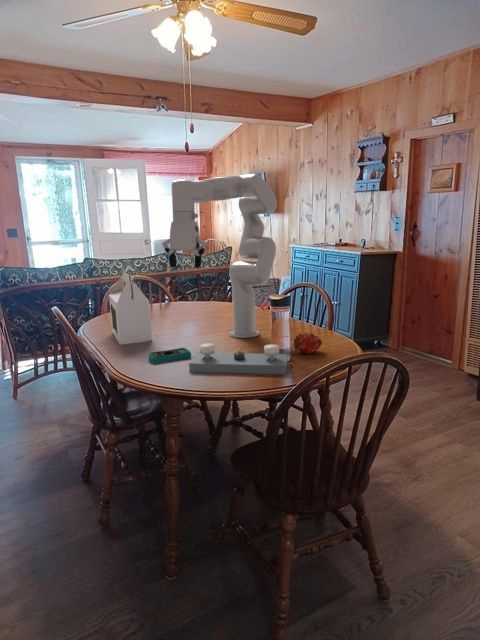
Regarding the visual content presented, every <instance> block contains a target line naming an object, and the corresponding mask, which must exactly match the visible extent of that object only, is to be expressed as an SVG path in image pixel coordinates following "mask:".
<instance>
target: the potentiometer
mask: <svg viewBox="0 0 480 640" xmlns="http://www.w3.org/2000/svg"><path fill="white" fill-rule="evenodd" d="M233 353H234V359H235V360H244V359H245V352H243V351H242V349H241V348H237V352H233Z"/></svg>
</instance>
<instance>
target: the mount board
mask: <svg viewBox="0 0 480 640" xmlns="http://www.w3.org/2000/svg"><path fill="white" fill-rule="evenodd" d="M234 353H235V352H215V353H213V354H210V356H211V359H205V355H204V354H201V353H200V352H196V354H195V355H194V356H193V358H192V359H191V360H190V362H189V363H188V367H189V371H188V372H189V373H215V374H217V373H222V374H223V373H224V374H254V375H257V374H258V375H263V374H264V375H286V374H287V369H288V359H289V358H288V354H287V353H279V355H276V356H275V361H269V356H267V355H265V354H264V353H245V352H244V353H245V359H244V360H235V359H234Z"/></svg>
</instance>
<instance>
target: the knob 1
mask: <svg viewBox="0 0 480 640" xmlns="http://www.w3.org/2000/svg"><path fill="white" fill-rule="evenodd" d="M215 349H216V348H215V344H214V343H202V344H200V345H199V353H201V354H204V355H205V359H211V356H210V354H213V353H216V351H215Z"/></svg>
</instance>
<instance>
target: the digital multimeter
mask: <svg viewBox="0 0 480 640" xmlns="http://www.w3.org/2000/svg"><path fill="white" fill-rule="evenodd" d="M191 358H192V353H191V351H190V350H189V349H187V348H186V347H180V348H179V347H178V348H174V349H168V350H167V349H166V350H159V351H152V352H151V351H150V352H149V353H148V361H149V363H151V364H153V365H154V364H155V363H156V364H161V362H162V363H168V362H173V361H180V360H181V361H182V360H187V359H191ZM156 364H155V365H156Z"/></svg>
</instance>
